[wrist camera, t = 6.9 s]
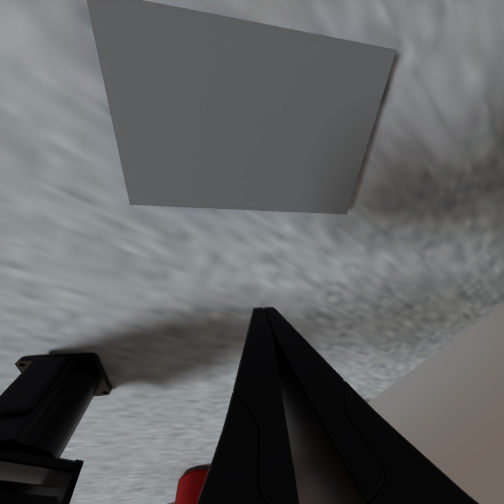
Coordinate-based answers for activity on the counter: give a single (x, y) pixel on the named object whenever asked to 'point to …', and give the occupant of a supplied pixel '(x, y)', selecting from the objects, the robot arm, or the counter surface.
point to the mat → (235, 108)
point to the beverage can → (191, 486)
